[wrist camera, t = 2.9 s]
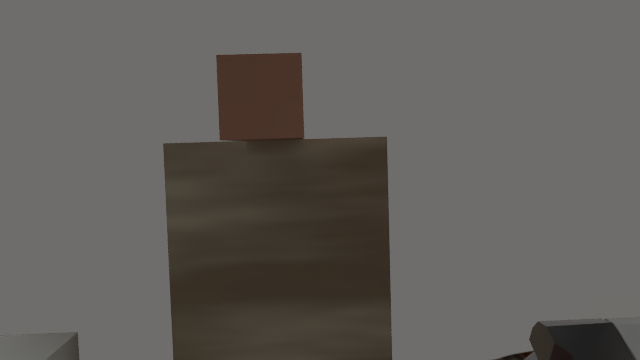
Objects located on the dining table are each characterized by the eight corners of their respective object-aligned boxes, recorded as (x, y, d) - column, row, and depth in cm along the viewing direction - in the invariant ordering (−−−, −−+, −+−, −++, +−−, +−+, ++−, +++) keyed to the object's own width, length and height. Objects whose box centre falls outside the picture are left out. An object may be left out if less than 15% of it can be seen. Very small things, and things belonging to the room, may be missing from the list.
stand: (217, 487, 45) (202, 143, 43) (375, 479, 45) (366, 138, 44) (163, 715, 27) (134, 144, 26) (424, 699, 28) (413, 135, 26)
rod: (266, 141, 43) (265, 106, 42) (302, 140, 43) (300, 105, 43) (219, 140, 18) (216, 55, 18) (303, 137, 18) (301, 53, 18)
